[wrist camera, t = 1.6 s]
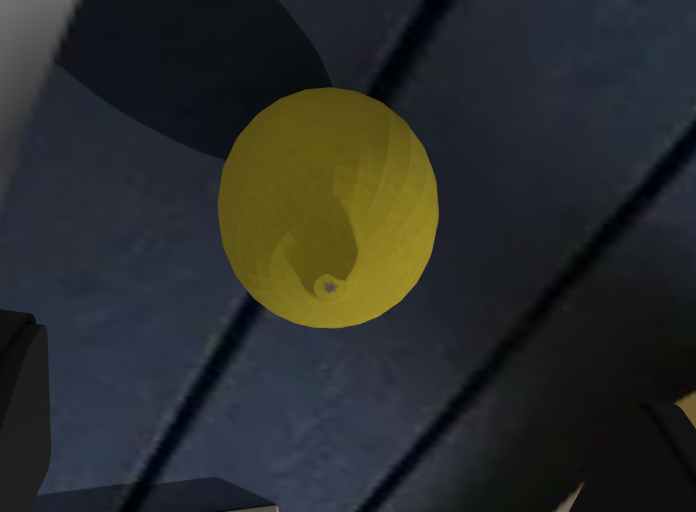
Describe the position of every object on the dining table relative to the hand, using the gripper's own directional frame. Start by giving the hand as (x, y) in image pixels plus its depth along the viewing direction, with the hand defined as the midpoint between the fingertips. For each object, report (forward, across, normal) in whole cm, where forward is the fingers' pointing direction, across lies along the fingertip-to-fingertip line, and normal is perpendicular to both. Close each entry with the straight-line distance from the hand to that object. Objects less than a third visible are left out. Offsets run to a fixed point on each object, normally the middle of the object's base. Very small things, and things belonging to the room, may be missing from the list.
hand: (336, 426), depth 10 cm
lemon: (+12, 0, -1) cm, 12 cm away
